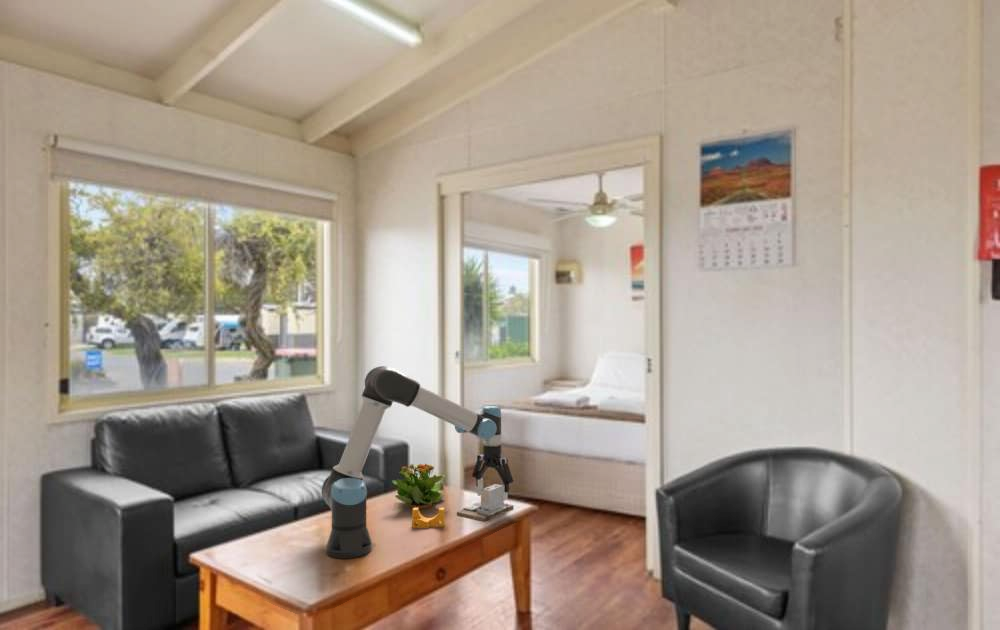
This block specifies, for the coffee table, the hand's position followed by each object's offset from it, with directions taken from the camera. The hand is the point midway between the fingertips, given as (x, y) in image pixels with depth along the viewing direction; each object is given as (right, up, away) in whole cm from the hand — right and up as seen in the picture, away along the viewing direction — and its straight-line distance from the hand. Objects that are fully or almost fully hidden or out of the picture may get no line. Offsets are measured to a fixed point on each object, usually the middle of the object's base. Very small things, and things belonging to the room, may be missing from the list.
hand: (492, 497), depth 249 cm
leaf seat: (0, -5, 0) cm, 5 cm away
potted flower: (-31, -7, +10) cm, 33 cm away
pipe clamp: (-24, -7, -15) cm, 29 cm away
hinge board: (-3, -6, +2) cm, 7 cm away
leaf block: (0, -5, 0) cm, 5 cm away
